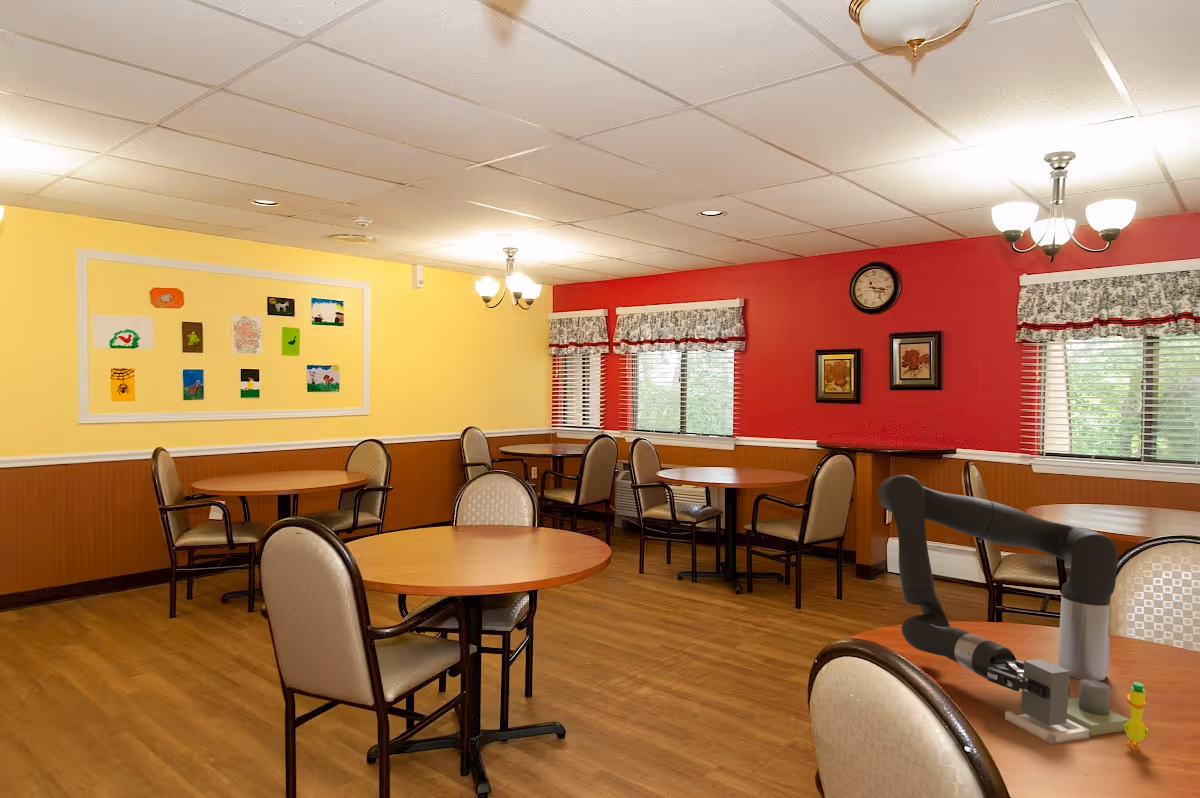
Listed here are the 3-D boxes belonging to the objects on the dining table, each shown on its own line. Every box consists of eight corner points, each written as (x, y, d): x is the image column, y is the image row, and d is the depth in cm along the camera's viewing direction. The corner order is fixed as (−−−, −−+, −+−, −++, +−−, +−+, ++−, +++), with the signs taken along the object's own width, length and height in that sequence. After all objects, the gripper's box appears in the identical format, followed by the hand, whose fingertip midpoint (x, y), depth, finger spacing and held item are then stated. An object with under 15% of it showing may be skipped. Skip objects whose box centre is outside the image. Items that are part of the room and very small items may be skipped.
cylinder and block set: (1080, 706, 149) (1082, 673, 149) (1132, 730, 139) (1134, 694, 139) (1002, 717, 142) (1004, 682, 142) (1051, 744, 132) (1053, 706, 132)
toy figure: (1118, 736, 136) (1122, 673, 136) (1141, 741, 135) (1145, 677, 134) (1125, 751, 130) (1129, 686, 130) (1149, 757, 129) (1153, 690, 128)
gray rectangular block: (1038, 708, 142) (1041, 658, 142) (1066, 723, 137) (1070, 671, 136) (1020, 711, 141) (1024, 660, 141) (1048, 725, 135) (1052, 673, 135)
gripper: (958, 642, 150) (1031, 676, 134) (1011, 637, 154) (1087, 669, 138) (956, 678, 150) (1028, 716, 134) (1008, 672, 155) (1085, 708, 138)
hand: (1058, 692), depth 136 cm, fingers closed on gray rectangular block, 4 cm apart
